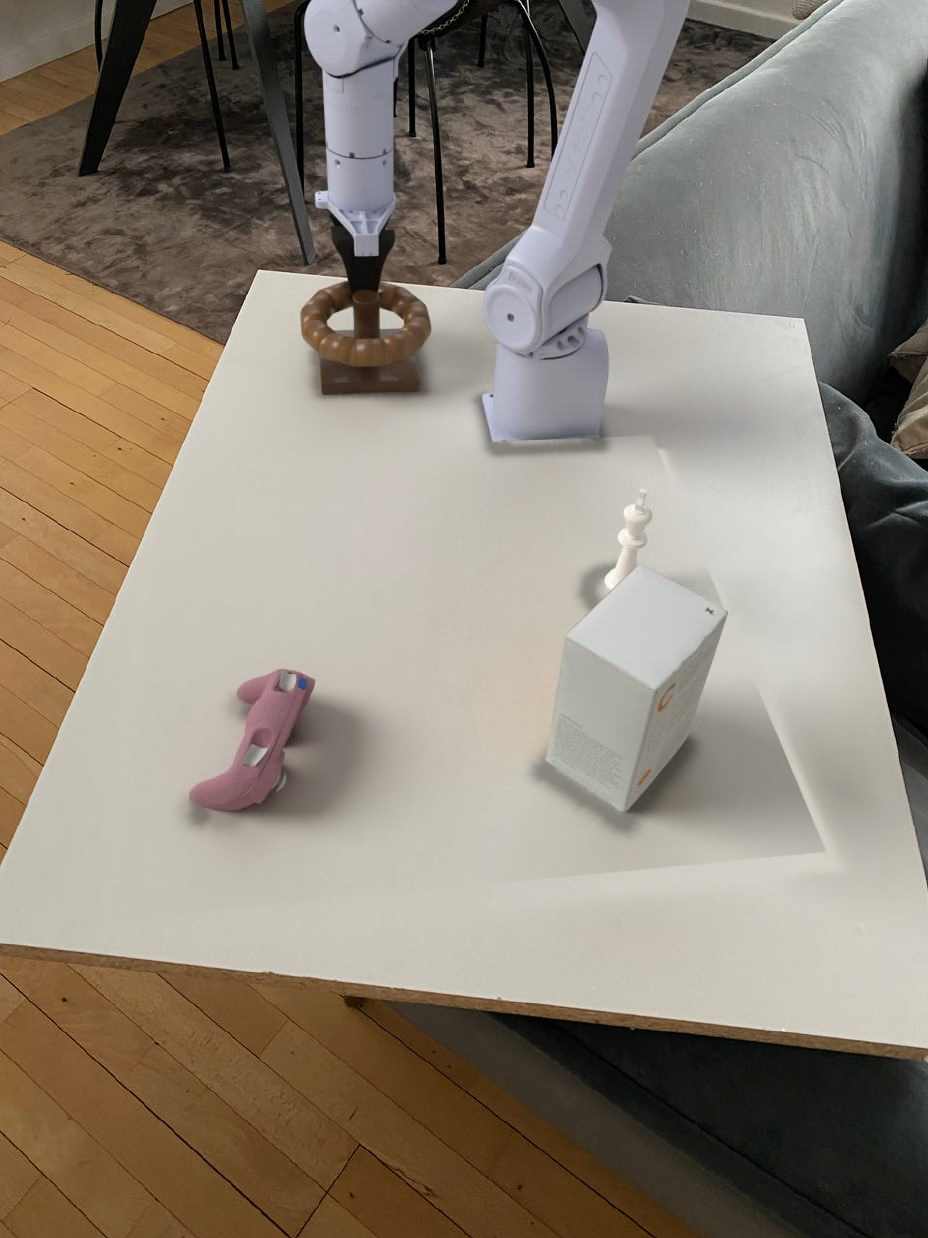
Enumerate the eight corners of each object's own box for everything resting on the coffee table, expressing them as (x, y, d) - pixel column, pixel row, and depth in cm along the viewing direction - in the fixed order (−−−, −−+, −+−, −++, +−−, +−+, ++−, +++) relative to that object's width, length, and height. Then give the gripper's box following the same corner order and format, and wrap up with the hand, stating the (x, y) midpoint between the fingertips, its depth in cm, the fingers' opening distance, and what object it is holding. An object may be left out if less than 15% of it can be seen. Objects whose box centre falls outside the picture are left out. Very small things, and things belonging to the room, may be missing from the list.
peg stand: (410, 338, 103) (411, 270, 97) (419, 391, 97) (421, 321, 91) (318, 341, 102) (314, 272, 96) (321, 394, 95) (317, 324, 90)
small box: (607, 697, 72) (639, 559, 63) (687, 745, 70) (732, 609, 60) (539, 770, 68) (562, 634, 58) (621, 825, 65) (660, 691, 56)
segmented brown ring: (421, 295, 101) (422, 273, 99) (437, 369, 94) (438, 346, 92) (298, 299, 100) (297, 276, 98) (304, 374, 92) (303, 351, 90)
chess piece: (658, 580, 81) (684, 478, 73) (645, 623, 77) (671, 521, 70) (596, 564, 82) (616, 461, 74) (580, 606, 78) (599, 503, 71)
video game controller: (247, 840, 65) (288, 793, 60) (179, 809, 64) (216, 758, 59) (296, 718, 72) (337, 667, 67) (236, 688, 71) (273, 633, 66)
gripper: (309, 111, 93) (317, 254, 103) (315, 182, 83) (323, 333, 93) (388, 111, 94) (389, 253, 104) (403, 181, 84) (402, 331, 94)
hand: (363, 291), depth 99 cm, fingers closed on segmented brown ring, 2 cm apart
